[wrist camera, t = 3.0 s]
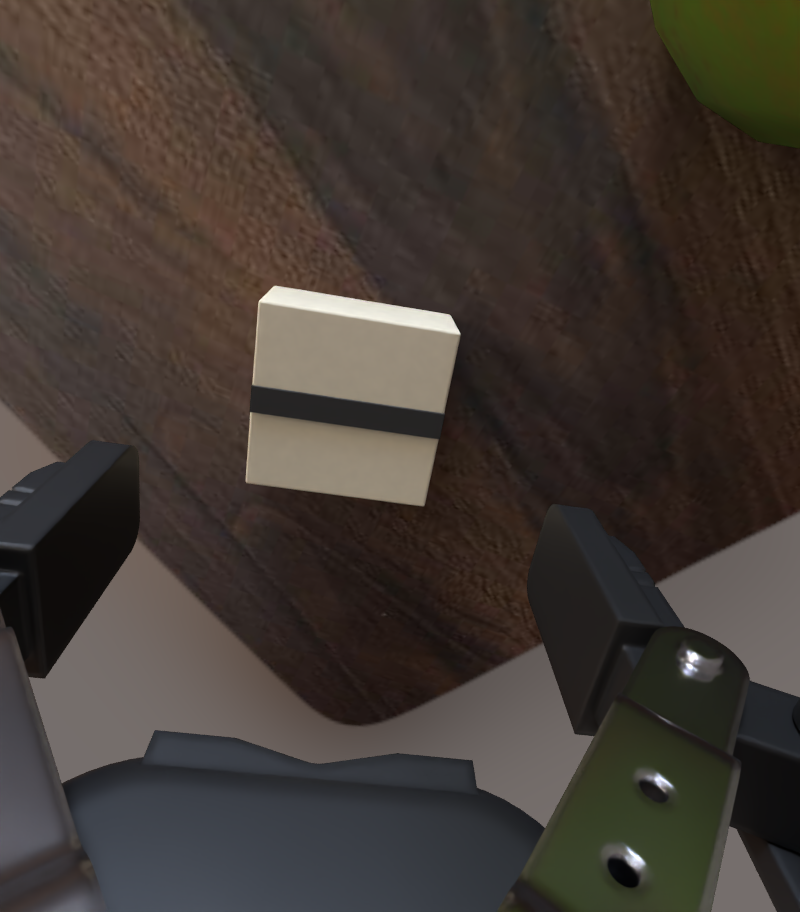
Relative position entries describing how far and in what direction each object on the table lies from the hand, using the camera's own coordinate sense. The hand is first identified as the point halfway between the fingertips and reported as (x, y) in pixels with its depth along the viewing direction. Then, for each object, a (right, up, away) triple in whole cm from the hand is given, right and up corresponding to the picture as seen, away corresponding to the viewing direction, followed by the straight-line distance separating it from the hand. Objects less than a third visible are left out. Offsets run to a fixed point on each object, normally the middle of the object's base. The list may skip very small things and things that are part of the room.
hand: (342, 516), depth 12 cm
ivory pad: (0, +4, +8) cm, 9 cm away
